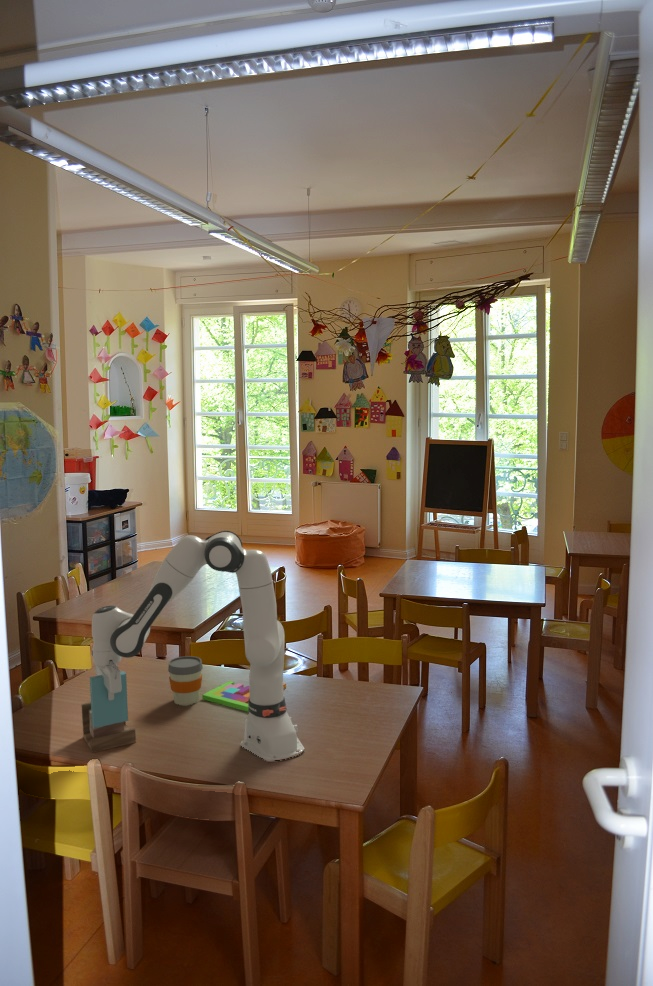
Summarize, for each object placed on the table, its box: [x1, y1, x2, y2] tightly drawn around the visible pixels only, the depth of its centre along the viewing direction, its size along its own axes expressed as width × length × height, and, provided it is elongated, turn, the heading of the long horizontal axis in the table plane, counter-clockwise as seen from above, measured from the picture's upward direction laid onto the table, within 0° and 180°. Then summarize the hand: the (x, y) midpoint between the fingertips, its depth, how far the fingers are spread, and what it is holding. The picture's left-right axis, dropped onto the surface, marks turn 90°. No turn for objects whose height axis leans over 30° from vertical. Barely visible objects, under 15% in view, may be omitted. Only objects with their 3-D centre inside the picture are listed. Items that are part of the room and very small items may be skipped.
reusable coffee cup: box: [167, 655, 203, 706], centre depth 286 cm, size 13×13×15 cm
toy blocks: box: [202, 680, 287, 713], centre depth 292 cm, size 23×2×25 cm
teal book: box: [89, 670, 129, 728], centre depth 251 cm, size 3×11×16 cm, turn 120°
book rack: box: [81, 701, 137, 754], centre depth 255 cm, size 13×14×12 cm
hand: (109, 697), depth 251 cm, fingers closed on teal book, 3 cm apart
